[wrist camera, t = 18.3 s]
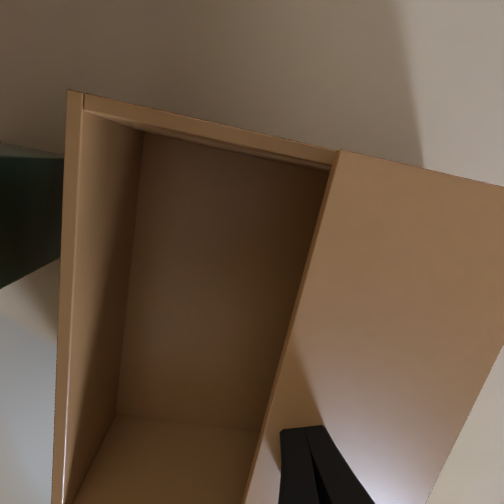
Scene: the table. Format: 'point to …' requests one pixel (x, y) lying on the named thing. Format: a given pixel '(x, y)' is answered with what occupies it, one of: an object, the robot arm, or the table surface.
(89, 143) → the carton
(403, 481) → the flap
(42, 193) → the block
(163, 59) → the table surface
